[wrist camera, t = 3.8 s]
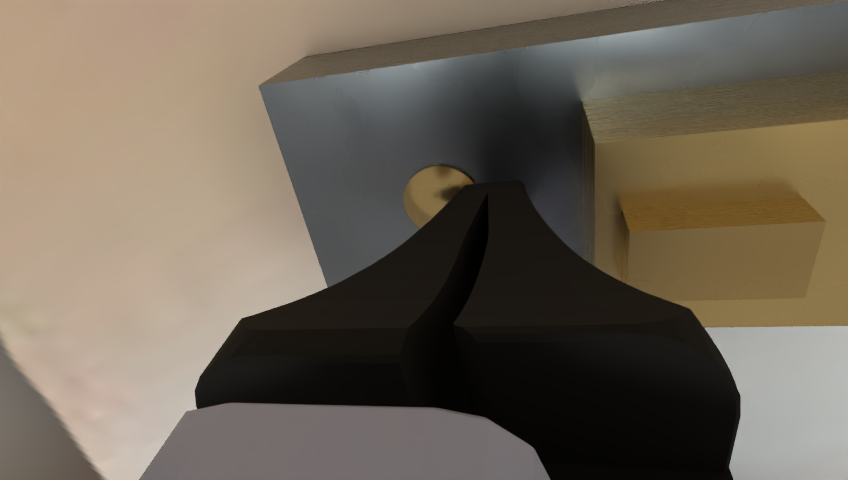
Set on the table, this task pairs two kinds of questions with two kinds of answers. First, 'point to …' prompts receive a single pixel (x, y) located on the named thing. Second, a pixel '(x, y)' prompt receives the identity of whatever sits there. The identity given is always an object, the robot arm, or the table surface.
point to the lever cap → (724, 198)
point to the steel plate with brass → (508, 108)
